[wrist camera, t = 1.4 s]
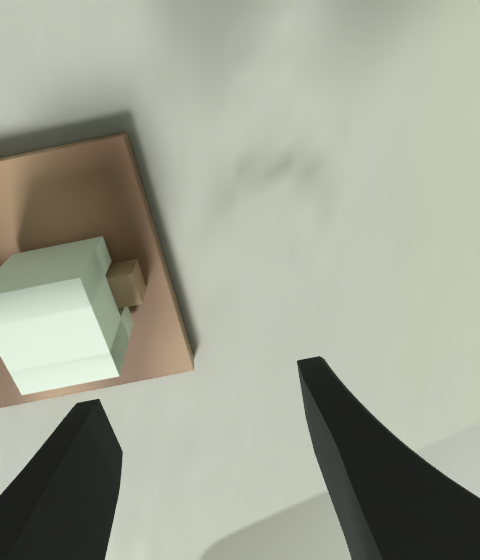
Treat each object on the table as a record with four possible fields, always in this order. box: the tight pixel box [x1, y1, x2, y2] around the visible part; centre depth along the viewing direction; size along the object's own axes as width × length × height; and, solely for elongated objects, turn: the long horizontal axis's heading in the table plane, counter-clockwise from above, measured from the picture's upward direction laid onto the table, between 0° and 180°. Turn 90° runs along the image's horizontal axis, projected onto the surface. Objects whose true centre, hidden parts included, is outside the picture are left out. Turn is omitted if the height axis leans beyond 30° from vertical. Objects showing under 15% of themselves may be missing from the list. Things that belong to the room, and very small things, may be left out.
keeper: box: [0, 236, 134, 395], centre depth 18 cm, size 4×4×4 cm
